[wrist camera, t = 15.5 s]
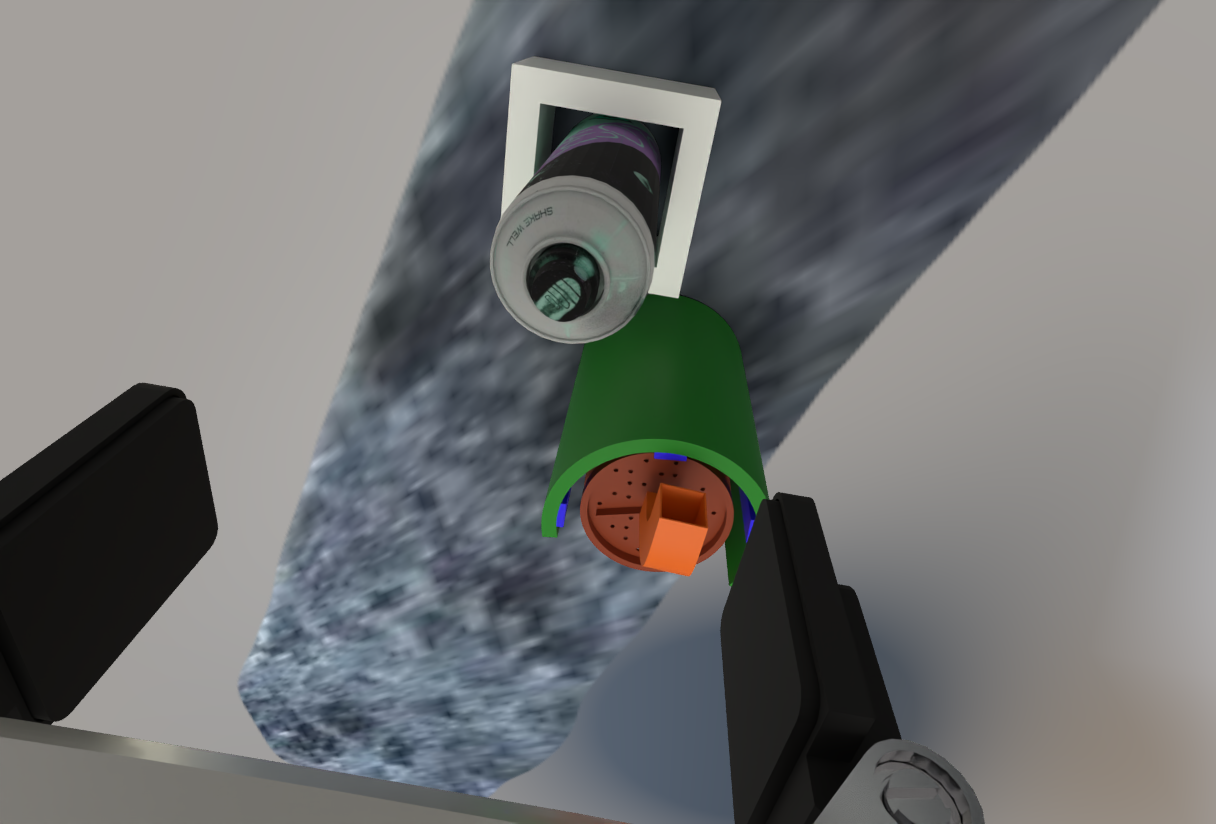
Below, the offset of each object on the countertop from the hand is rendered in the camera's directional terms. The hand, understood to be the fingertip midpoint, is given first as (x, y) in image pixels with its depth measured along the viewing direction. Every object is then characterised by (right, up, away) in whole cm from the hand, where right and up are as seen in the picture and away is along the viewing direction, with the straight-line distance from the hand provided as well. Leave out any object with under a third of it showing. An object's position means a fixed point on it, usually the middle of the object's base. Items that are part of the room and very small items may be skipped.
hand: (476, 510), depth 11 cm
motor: (+6, +5, +32) cm, 33 cm away
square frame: (+2, +15, +26) cm, 30 cm away
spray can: (+2, +15, +26) cm, 30 cm away
